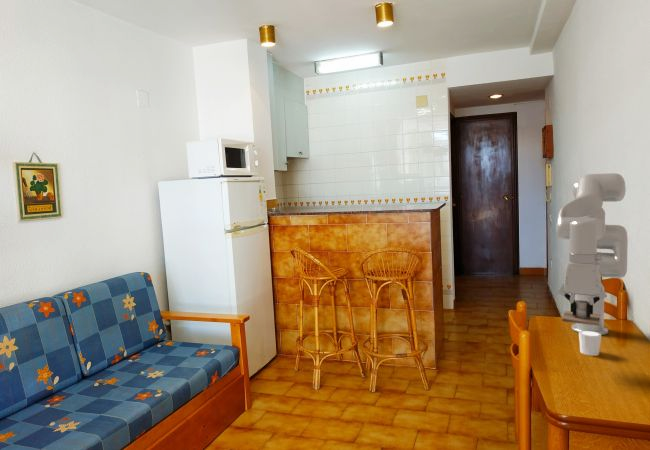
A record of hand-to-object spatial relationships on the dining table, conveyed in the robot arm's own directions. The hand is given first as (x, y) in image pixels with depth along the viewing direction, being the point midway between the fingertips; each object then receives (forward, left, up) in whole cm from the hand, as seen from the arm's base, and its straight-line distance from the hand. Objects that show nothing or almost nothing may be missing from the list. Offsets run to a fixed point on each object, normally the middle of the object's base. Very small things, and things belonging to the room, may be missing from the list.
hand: (581, 314), depth 146 cm
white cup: (-15, +2, -17) cm, 23 cm away
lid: (0, 0, -1) cm, 1 cm away
